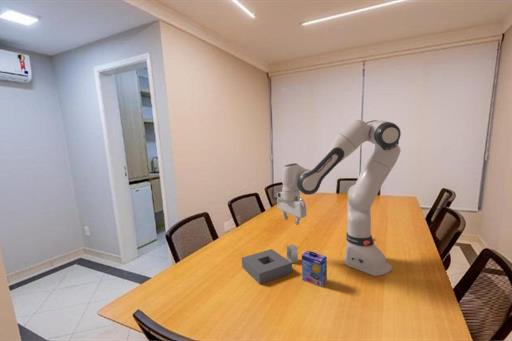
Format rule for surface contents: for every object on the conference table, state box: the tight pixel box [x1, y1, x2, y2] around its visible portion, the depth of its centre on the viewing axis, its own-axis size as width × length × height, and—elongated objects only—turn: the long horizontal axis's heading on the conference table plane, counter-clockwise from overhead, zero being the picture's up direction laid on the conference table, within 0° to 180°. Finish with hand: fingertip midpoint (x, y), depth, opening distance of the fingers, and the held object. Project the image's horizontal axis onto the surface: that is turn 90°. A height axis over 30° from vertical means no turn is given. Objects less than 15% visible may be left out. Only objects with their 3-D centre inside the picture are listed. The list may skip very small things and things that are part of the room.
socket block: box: [241, 248, 293, 285], centre depth 121 cm, size 18×18×5 cm
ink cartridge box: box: [301, 250, 328, 288], centre depth 110 cm, size 10×6×14 cm, turn 51°
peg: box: [286, 244, 299, 264], centre depth 129 cm, size 4×4×8 cm
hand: (291, 221), depth 127 cm, fingers open, 8 cm apart
